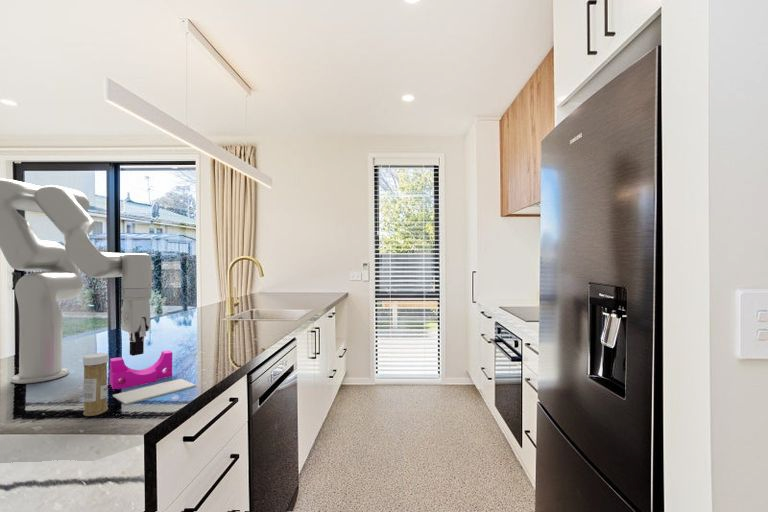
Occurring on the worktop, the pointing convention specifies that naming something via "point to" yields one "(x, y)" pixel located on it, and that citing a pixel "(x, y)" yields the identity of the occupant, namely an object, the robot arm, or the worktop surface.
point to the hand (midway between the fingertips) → (136, 354)
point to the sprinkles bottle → (95, 384)
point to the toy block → (139, 372)
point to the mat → (153, 391)
